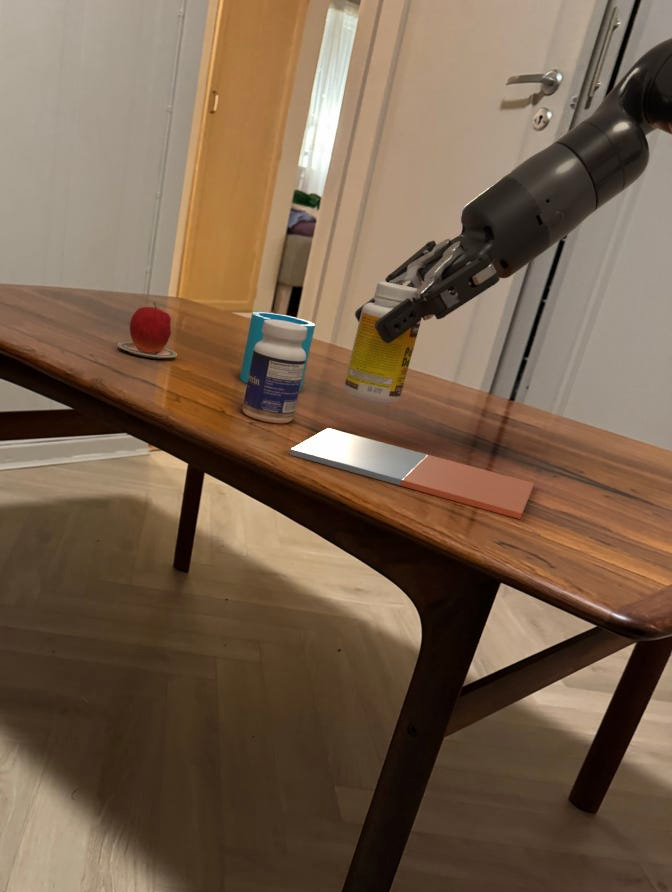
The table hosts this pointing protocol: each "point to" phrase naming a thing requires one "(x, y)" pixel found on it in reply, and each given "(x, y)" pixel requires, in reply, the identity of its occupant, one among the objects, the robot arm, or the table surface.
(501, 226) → the robot arm
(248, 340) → the mug
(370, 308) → the supplement bottle
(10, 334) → the table surface
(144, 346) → the apple
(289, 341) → the pill bottle
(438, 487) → the sorting board
